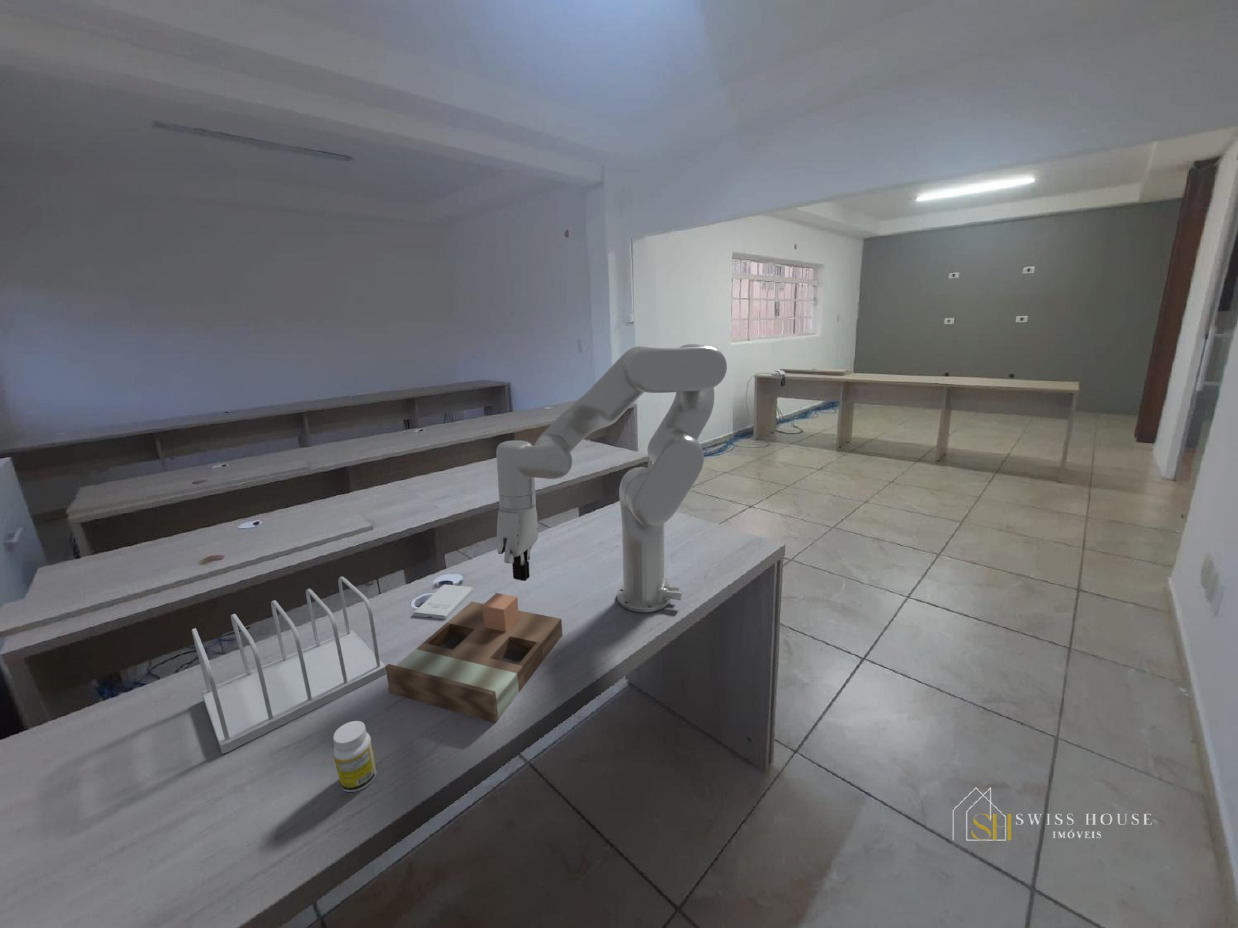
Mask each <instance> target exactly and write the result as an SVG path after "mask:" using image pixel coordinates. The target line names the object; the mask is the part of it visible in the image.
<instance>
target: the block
mask: <svg viewBox="0 0 1238 928" xmlns="http://www.w3.org/2000/svg"><path fill="white" fill-rule="evenodd" d="M482 604H483V605H482V608H483V617H484V626H485V628H490V629H495V630H499V631H504V632H506V631H507V630H508V629H509V628H510V627H511V626H512V625H513V624H514V623H515V622H516V621H517V620H518V619H519V611H520V610H519V603H518V596H514V595H510V594H503V593H498V592H496V593H494V595H492V596H491V597H490V598H489V599H488V600H486V602H484V603H482Z"/></svg>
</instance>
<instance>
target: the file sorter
mask: <svg viewBox="0 0 1238 928" xmlns="http://www.w3.org/2000/svg"><path fill="white" fill-rule="evenodd" d="M337 582H338V590H339V591H338V592H339V595H340V601H341V608H342V613H343V619H344V620H343V621H344V625H345V630H346V631H345V632H343V633H340V634H339V630H338V627H337V623H336V620H335V617H334V615H333V613H332V611H331V609H330V608H329V607H328V606H327V605H326V604H325V603H324V602H323V601H322V599H320V597H319V596H318V595H317V594H316V593H315V591H313V590H312V589H311V588H307V589H306V590H305V596H306V602H307V607H308V612H309V617H310V623H311V627H312V628H311V629H312V632H313V637H314V642H315V644H314V645H313V644H312V645H311V646H308V647H306V648H303V647H302V644H301V640H300V637H299V633H298V629H297V628H296V625H295V623H294V622H293V621H292V620H291V618H290V617H289V616H288V615H287V613H286V612H285V610H284V609H283V608H282V607H281V605H280V604H279V602H277V600H272V601H271V602H270V607H271V612H272V616H273V617H272V618H273V621H274V622H273V623H274V625H275V629H276V631H275V632H276V635H277V639H278V644H279V648H280V653H281V658H279V659H277V660H274V661H272V662H269V663H267V664H264V665H262V662H261V658H260V653H259V651H258V649H257V646H256V645H257V644H256V643H255V641H254V639H253V637H252V636H251V635H250V633H249V631H248V630H247V629H246V627H245V626H244V624H243V623H242V620H240V619H239V617H238V616H237V614H236V613H234V614H231V615H230V619H231V625H232V628H233V632H234V635H235V638H236V642H237V646H238V649H239V652H240V657H241V661H242V664H243V666H244V669H245V670H244V671H245V673H242V674H240V675H238V676H236V677H233V678H231V679H228V680H225V681H223V682H221V683H219V684H216V681H215V677H214V675H213V670H212V667H211V664H210V661H209V658H208V656H207V653H206V651H205V647H204V646H203V643H202V640H201V638H200V636H199V635H200V634H199V632H198V630H197V628H196V627H195V628H191V633H192V638H193V641H194V646H195V650H196V653H197V656H198V657H197V658H198V661H199V665H200V668H201V672H202V676H203V680H204V683H205V687H206V689H205V690H202V691H201V695H202V700H203V703H204V705H205V708H206V713H207V714H208V717H209V720H210V723H211V726H212V729H213V732H214V734H215V738H216V740H217V742H218V743H217V744H218V747H219V749H220V752H221V754H224V753H225V754H226V753H229V752H231V751H233V750H235V749H237V748H239V747H241V746H243V745H244V744H247V743H249V742H251V741H253V740H255V739H257V738H259V737H261V736H263V735H265V734H267V733H269V732H271V731H273V730H275V729H277V728H279V727H282V726H283V725H286V724H287V723H289V722H292V721H294V720H296V719H298V718H299V717H302V716H303V715H306V714H308V713H310V712H311V711H314V710H316V709H318V708H320V707H322V706H324V705H327V704H328V703H330V702H332V701H334V700H336V699H338V698H341V697H342V696H344V695H346V694H348V693H350V692H352V691H354V690H357V689H359V688H360V687H363V686H364V685H367V684H368V683H370V682H373V681H374V680H377V679H379V678H380V677H382V676H384V675H386V669H385V666H386V665H385V663H384V662H383V661H381V659H380V655H379V653H380V652H379V649H378V647H379V646H378V640H377V634H376V633H377V632H376V628H375V627H376V626H375V621H374V620H375V619H374V614H373V608H372V606H371V603H370V601H369V599H368V598H367V597H366V595H364V593H362V592H361V591H360V590H359V589H358V588H357V587H356V586H355V585H353V584H352V583H351V582H350V581H349V580H348V579H347V578H346V577H344V576H340V577H339V578H338V581H337ZM343 583H344V584H345V585H346V586H347V587H348V588H349V589H350V590H352V591H353V592H354V593H355V594H356V595H357V596H358V597H359V598H361V600H362V601H363V602H364V604H365V606H366V609H367V613H368V619H369V624H370V632H371V639H372V643H373V644H372V646H373V651H372V650H371V648H370V647H368V645H367V643H365V642H364V641H363V640H362V638H360V636H359V635H358V634H357V633H356V632H355V630H354V629H351V630H350V624H349V618H348V617H349V616H348V612H347V611H348V610H347V605H346V601H345V595H344V589H343ZM311 597H312V598H313V600H314V601H315V602H316V603H317V604H318V605H319V606H320V607H321V608H322V609H323V611H325V613H326V615H327V616H328V617H329V620H330V623H331V627H332V631H333V637H331V638H328V639H325V640H323V641H321V642H320V640H319V635H318V630H317V625H316V620H315V615H314V611H313V606H312V605H313V604H312V601H311ZM277 612H278V613H279V615H281V616H282V618H283V620H285V622H286V623H287V624H288V626H289V628H290V630H291V631H292V634H293V637H294V643H295V645H296V650H297V651H296V652H293V653H291V654H288V655H286V650H285V645H284V641H283V637H282V636H283V635H282V633H281V627H280V621H279V618H278V613H277ZM239 630H240V631H241V633H242V634H243V635H244V637H245V639H246V640H247V642H248V644H249V646H250V647H251V651H252V654H253V656H254V660H255V664H256V668H255V669H252V670H251V669H250V667H249V664H248V660H247V656H246V653H245V649H244V645H243V642H242V638H241V635H240V632H239ZM302 648H303V649H302Z"/></svg>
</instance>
